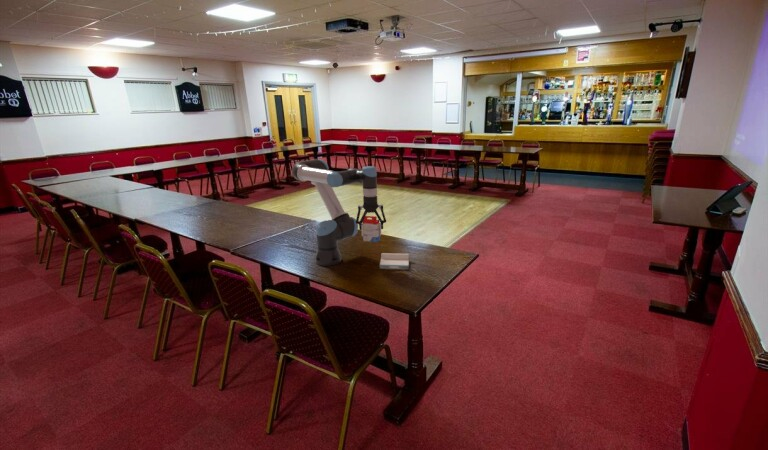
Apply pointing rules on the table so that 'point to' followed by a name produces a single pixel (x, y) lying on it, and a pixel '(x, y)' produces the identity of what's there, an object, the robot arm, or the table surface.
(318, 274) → the table surface
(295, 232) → the table surface
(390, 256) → the shelf
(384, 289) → the table surface
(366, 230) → the ink box
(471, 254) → the table surface
